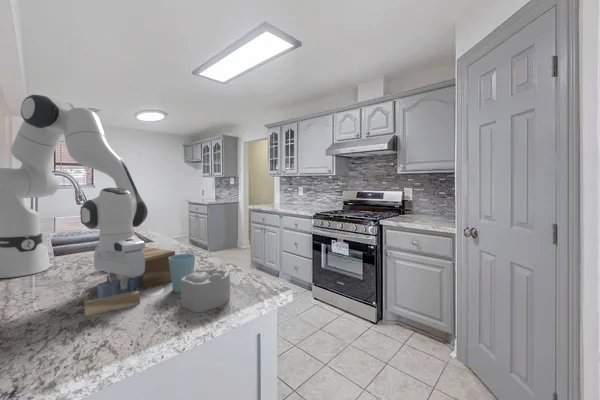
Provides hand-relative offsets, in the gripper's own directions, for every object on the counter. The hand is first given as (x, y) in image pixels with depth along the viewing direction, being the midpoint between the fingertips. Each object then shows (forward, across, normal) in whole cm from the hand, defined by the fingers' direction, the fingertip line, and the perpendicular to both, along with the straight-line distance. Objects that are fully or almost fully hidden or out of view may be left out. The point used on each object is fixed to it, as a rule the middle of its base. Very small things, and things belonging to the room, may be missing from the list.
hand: (118, 287), depth 87 cm
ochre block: (+2, -11, +8) cm, 13 cm away
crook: (+2, -3, +5) cm, 6 cm away
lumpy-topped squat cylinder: (+2, +29, +8) cm, 30 cm away
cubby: (+2, -5, +10) cm, 11 cm away
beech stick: (+2, +10, -7) cm, 12 cm away
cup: (+2, +15, +11) cm, 18 cm away
